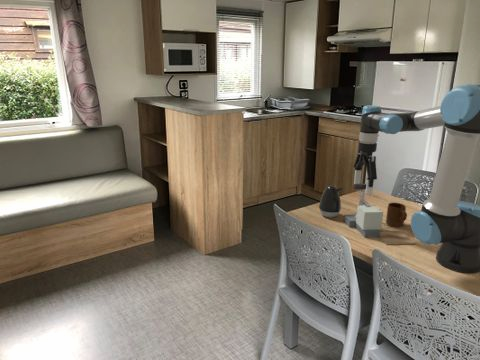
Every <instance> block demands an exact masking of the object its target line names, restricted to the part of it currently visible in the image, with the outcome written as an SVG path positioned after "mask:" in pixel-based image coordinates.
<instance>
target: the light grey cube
mask: <svg viewBox="0 0 480 360" xmlns="http://www.w3.org/2000/svg"><path fill="white" fill-rule="evenodd" d="M356 207H357V209H356V214H357V216H356V223H357V224H358V225H359V226H360V227H361V229H362V230H380V231H381V230H382V227H383V226H382V225H383V219H384V218H383V217H384V211H383V210H381V209H380V208H379V207H378V206H377V205H374V204H370V206H365V205H363V206H359V205H357V206H356Z"/></svg>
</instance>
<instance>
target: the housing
mask: <svg viewBox="0 0 480 360" xmlns="http://www.w3.org/2000/svg"><path fill="white" fill-rule="evenodd" d="M356 216H357V213H355V214H352V213H351V214H343V222H344V223H345V224H346V225H347V226H348V227H349V228H356V229H357V231H358V232H359V233H360V234H361V235H362V237H364V238H379V236H380V232H381V230H362V229H361V227H360V226H359V225H358V224H357V223H356Z"/></svg>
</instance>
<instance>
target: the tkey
mask: <svg viewBox="0 0 480 360" xmlns="http://www.w3.org/2000/svg"><path fill="white" fill-rule="evenodd" d="M366 184H367V183H360V184H354V183H353V189H354V190H360V195H359V204H358V206H370V205H371V204H370V203H369V202H368V201H367V200H366V199H365V195H366V193H365V192H366Z"/></svg>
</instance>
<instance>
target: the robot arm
mask: <svg viewBox="0 0 480 360" xmlns="http://www.w3.org/2000/svg"><path fill="white" fill-rule="evenodd" d="M360 115H361V117H360V118H361V119H360V129H359V136H358V141H359V142H358V145H357V147H358V148H357V154H356V157H355V160H354V163H353V168H354V170H355V172H354V180H353V185H354V184H361V182H362V181H361V179H362V170H363V167H364V166H365V169H366V173H367V178H366V183H365V184H366V189H365V195H373V188H374V182H375V181H376V180H378V176H377V156H376V155H373V154H374V153H376V152H377V146H378V143H377V142H378V137H379V136H380V135H379V132H382V133H384V134H387V135H388V134H389V135H396V134H398V133H399V132H400V133H401V132H420V131H424V130H427V129H433V128H438V127H444V128H445V130H446V131H447V133H446V137H445V140H444V143H443V147H442V151H441V155H440V158H439V162H438V166H437V169H436V173H435V177H434V180H433V184H432V187H431V191H430V195H429V198H427V199H426V200H424V201H423V203H422V206H421V209H420V210H417V211H415V212H414V213H413V214H412V215H411V218H410V227H411V228H410V229H411V230H412V233H413V235H414V236H415V238H416V239H417V240H418V241H419V242H420V243H422V244H423V245H428V246H429V245H439V244H441V245H440V247H439V249H438V250H437V251H436V256H435V260H436V262H437V263H438V264H439V265H441V266H442V267H444V268H447V269H449V270H452V271H455V272H459V273H464V274H476V273H480V205H479V204H476V203H473V202H469V201H465V200H464V201H463V200H460V198H461V195H462V192H463V189H464V185H465V182H466V178H467V175H468V173H469V168H470V166H471V163H472V159H473V156H474V154H475V150H476V146H477V143H478V140H479V138H480V84H470V83H469V84H465V85H459V86H458V85H457V86H456V87H453V88H452V89H450V90H449V91H448V92H447V93H446V94H445V95H444V97H443V98H442V101H441V103H440V105H439V106H435V107H430V108H426V109H422V110H421V109H420V110H417V111H414V112H413V111H411V112H401V113H399V112H398V113H397V112H396V113H395V112H394V113H392V112H391V113H389V112H382V107H381V106H378V105H371V104H369V105H364V106H363V107H362V112H361V114H360Z"/></svg>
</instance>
